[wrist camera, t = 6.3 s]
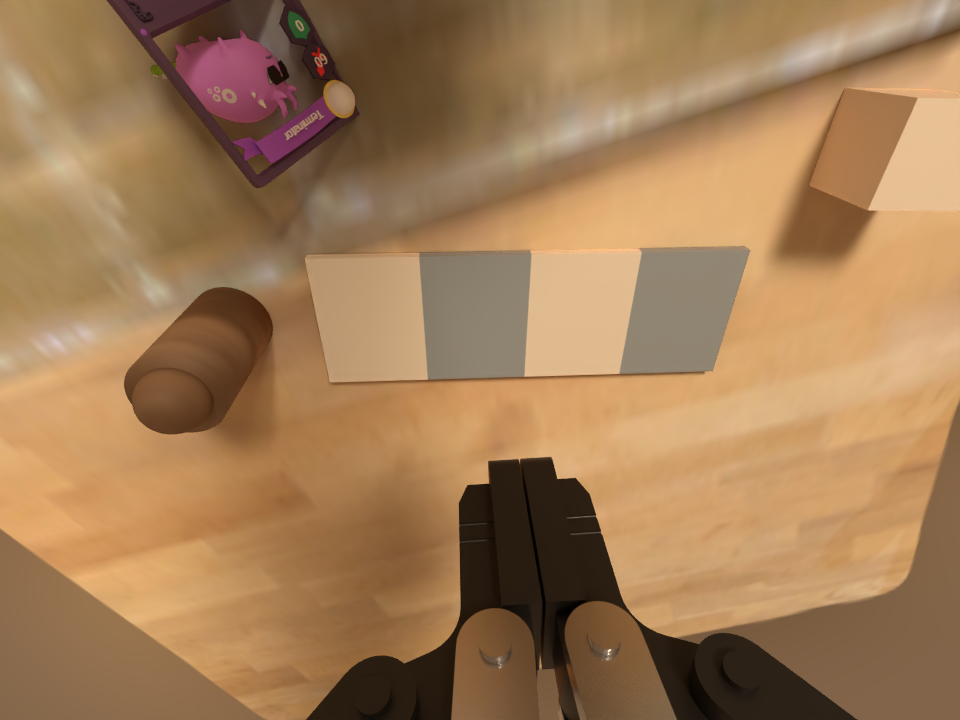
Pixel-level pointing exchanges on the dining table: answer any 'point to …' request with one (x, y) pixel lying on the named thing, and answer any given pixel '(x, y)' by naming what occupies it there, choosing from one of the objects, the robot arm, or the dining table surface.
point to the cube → (893, 150)
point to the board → (523, 312)
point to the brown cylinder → (199, 363)
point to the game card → (245, 81)
